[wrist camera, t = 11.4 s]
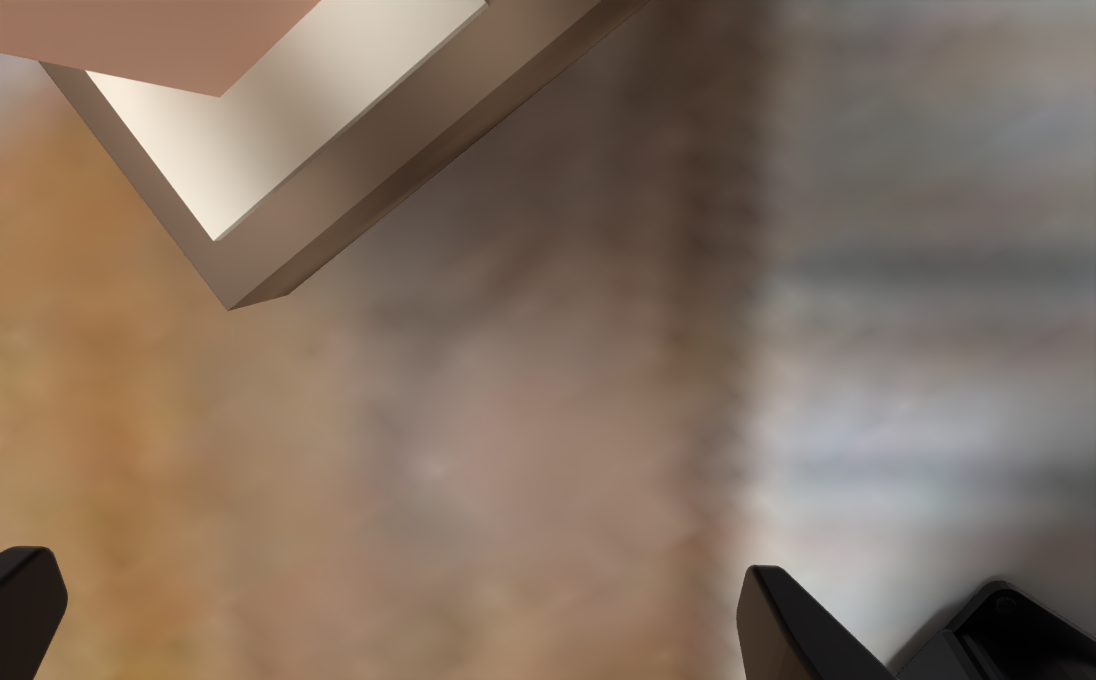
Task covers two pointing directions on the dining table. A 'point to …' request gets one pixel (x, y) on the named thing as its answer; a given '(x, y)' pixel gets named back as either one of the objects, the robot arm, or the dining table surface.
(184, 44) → the terracotta peg
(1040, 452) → the dining table surface
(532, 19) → the walnut pocket board
